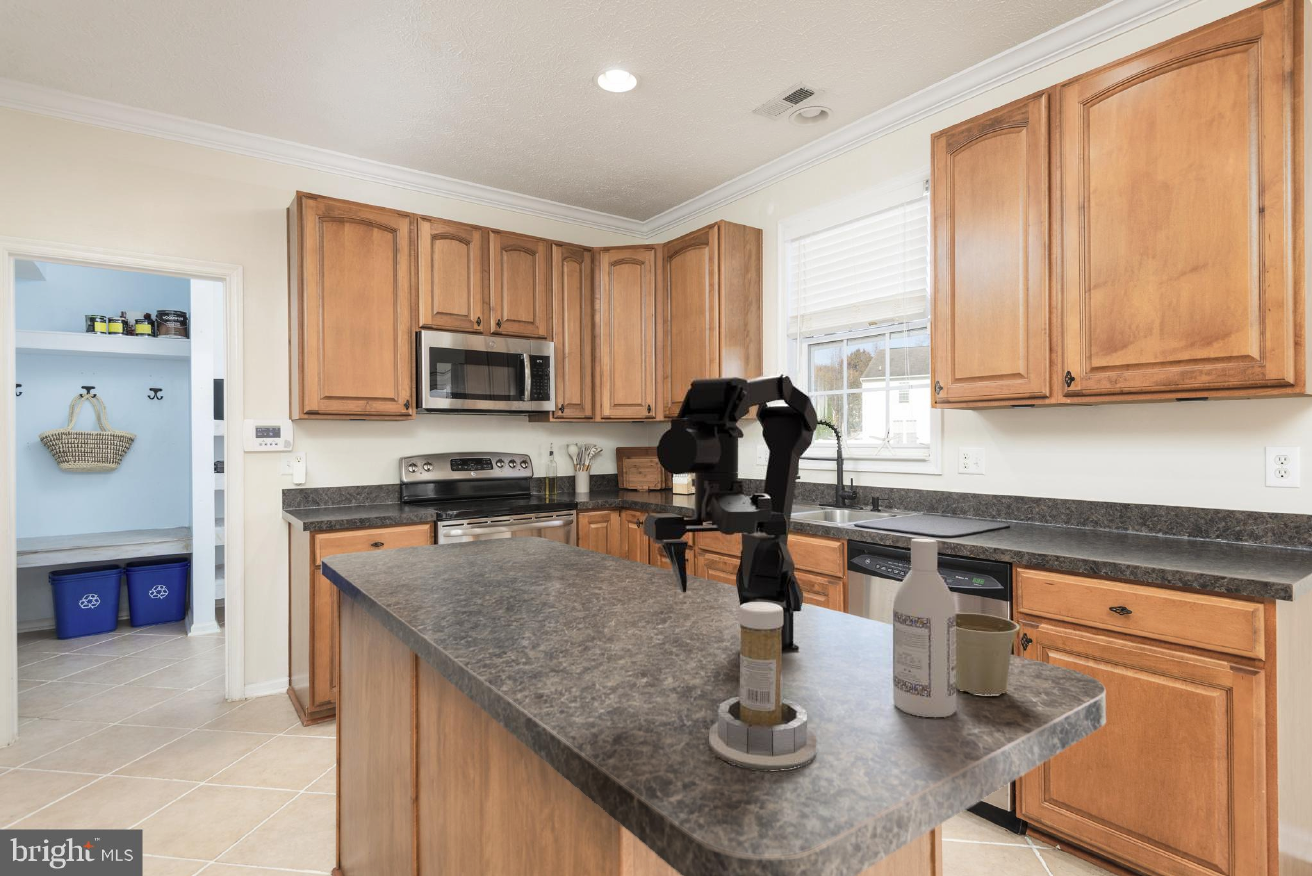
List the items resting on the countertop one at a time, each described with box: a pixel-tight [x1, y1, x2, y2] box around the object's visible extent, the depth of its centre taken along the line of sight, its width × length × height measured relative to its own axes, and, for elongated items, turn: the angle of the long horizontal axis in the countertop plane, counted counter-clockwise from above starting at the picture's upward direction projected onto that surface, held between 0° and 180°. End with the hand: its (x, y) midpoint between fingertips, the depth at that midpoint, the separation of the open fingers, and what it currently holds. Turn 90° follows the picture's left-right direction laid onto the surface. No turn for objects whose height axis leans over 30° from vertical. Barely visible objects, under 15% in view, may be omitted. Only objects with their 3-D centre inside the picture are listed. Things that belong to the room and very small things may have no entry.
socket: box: [708, 696, 818, 772], centre depth 69 cm, size 11×11×4 cm
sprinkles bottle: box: [738, 602, 783, 726], centre depth 69 cm, size 5×5×13 cm
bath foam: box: [892, 538, 957, 719], centre depth 79 cm, size 7×7×20 cm
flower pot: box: [956, 612, 1021, 695], centre depth 85 cm, size 9×9×9 cm
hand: (715, 589), depth 88 cm, fingers open, 9 cm apart
